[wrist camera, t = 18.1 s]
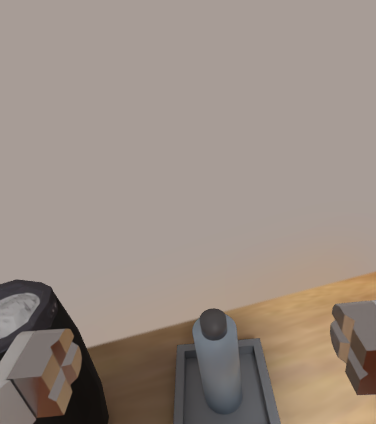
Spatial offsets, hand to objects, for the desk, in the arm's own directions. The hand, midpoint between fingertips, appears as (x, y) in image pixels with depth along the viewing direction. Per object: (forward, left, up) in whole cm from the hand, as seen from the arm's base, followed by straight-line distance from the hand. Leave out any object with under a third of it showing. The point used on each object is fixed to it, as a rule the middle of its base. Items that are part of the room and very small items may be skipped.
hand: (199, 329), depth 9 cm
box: (0, +14, -28) cm, 31 cm away
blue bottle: (0, +14, -27) cm, 31 cm away
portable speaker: (-17, +11, -28) cm, 35 cm away
